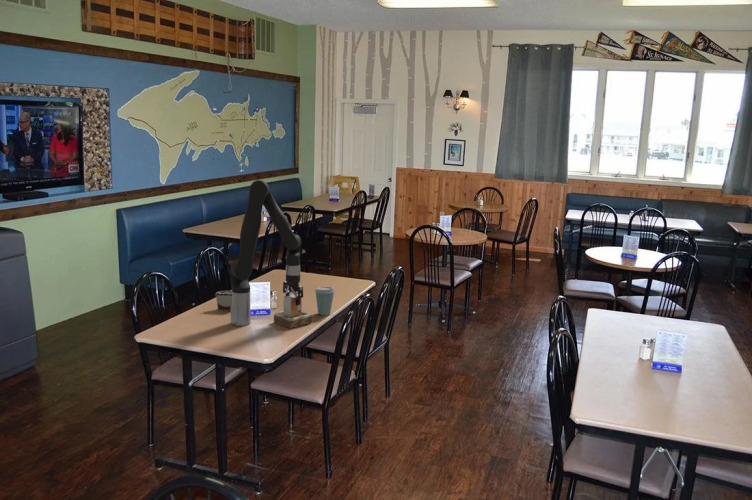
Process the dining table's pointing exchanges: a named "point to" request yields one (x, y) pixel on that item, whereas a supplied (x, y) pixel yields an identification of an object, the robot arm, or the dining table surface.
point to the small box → (291, 306)
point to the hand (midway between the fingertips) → (292, 303)
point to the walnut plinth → (293, 319)
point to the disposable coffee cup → (324, 299)
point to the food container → (224, 300)
